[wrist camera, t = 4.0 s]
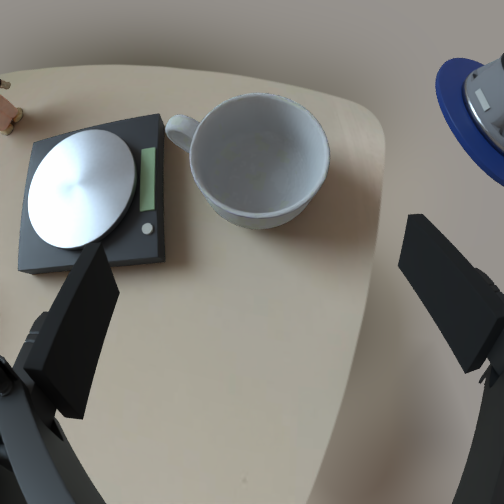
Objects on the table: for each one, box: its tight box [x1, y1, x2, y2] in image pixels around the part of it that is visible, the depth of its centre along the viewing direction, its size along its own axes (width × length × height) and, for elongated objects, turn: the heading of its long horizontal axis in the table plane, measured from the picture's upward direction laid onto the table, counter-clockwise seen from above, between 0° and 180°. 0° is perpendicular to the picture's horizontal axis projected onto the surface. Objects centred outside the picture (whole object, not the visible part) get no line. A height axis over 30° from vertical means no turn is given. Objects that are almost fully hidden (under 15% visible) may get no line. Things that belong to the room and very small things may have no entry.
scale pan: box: [28, 129, 137, 250], centre depth 28 cm, size 12×12×1 cm
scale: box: [18, 114, 165, 274], centre depth 30 cm, size 16×15×3 cm
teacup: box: [165, 93, 330, 229], centre depth 28 cm, size 14×11×8 cm
